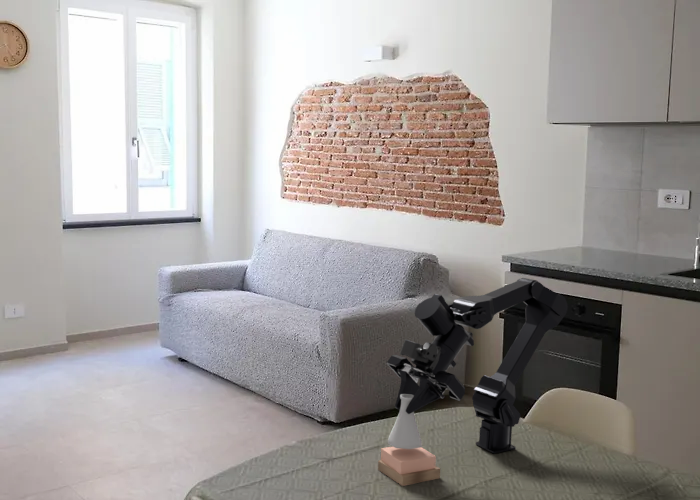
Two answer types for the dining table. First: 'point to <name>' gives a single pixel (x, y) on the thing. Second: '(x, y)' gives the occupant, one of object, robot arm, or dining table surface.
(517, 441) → the dining table surface
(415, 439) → the flask
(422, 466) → the terracotta slab
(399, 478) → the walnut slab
